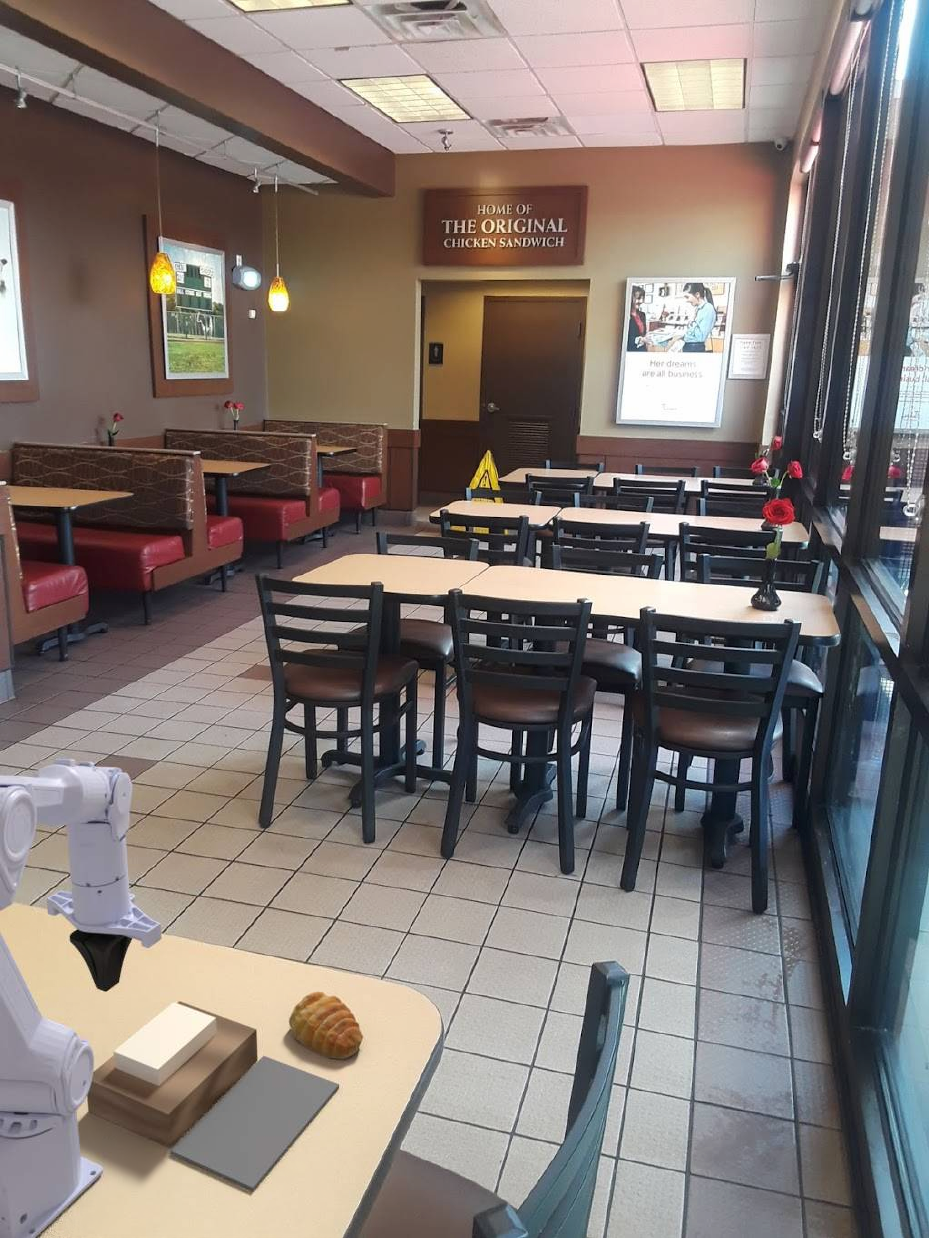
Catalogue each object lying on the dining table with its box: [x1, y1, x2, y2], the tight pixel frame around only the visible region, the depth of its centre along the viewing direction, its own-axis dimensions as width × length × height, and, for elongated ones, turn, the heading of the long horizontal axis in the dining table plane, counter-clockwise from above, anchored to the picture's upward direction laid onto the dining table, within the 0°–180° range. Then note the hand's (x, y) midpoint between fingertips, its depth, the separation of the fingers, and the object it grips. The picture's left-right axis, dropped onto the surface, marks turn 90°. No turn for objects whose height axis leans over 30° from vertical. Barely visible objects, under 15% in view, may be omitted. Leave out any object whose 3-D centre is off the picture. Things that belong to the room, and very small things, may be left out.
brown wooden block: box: [86, 1001, 259, 1149], centre depth 100 cm, size 14×11×4 cm
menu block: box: [113, 1001, 217, 1086], centre depth 100 cm, size 9×6×2 cm, turn 155°
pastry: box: [288, 991, 364, 1061], centre depth 108 cm, size 9×7×4 cm
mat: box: [170, 1055, 340, 1192], centre depth 96 cm, size 15×10×1 cm, turn 155°
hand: (108, 985), depth 102 cm, fingers closed
